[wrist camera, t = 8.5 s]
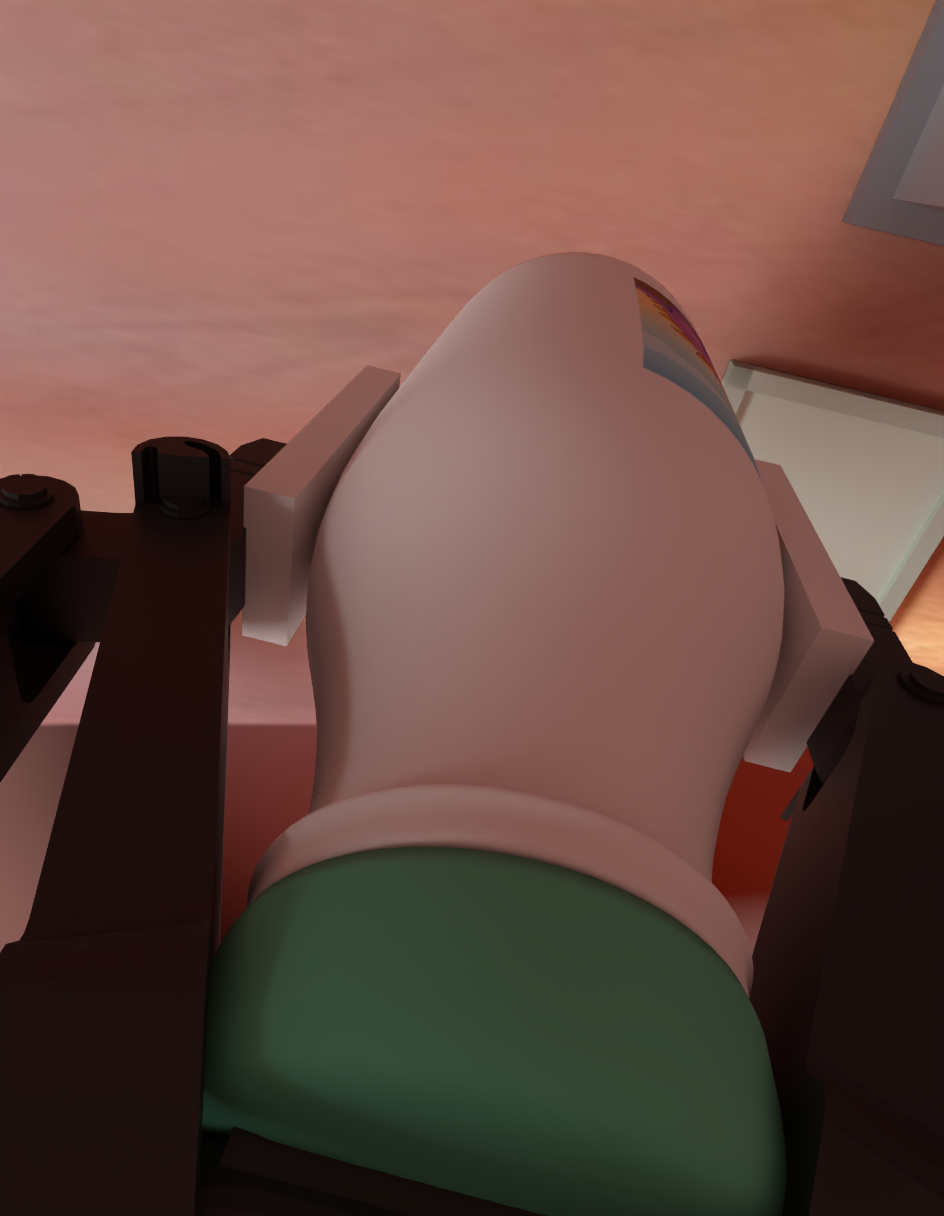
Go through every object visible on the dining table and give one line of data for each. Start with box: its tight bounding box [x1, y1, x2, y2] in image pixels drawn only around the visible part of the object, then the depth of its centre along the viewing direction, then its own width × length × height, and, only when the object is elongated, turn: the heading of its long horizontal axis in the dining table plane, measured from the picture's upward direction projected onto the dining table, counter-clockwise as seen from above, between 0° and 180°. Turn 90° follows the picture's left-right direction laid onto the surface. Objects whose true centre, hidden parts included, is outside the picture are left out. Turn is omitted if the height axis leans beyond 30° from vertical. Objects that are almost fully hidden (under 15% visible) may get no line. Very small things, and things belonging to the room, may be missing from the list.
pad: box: [721, 360, 944, 622], centre depth 32 cm, size 11×11×1 cm
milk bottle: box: [202, 252, 787, 1216], centre depth 13 cm, size 8×8×20 cm
